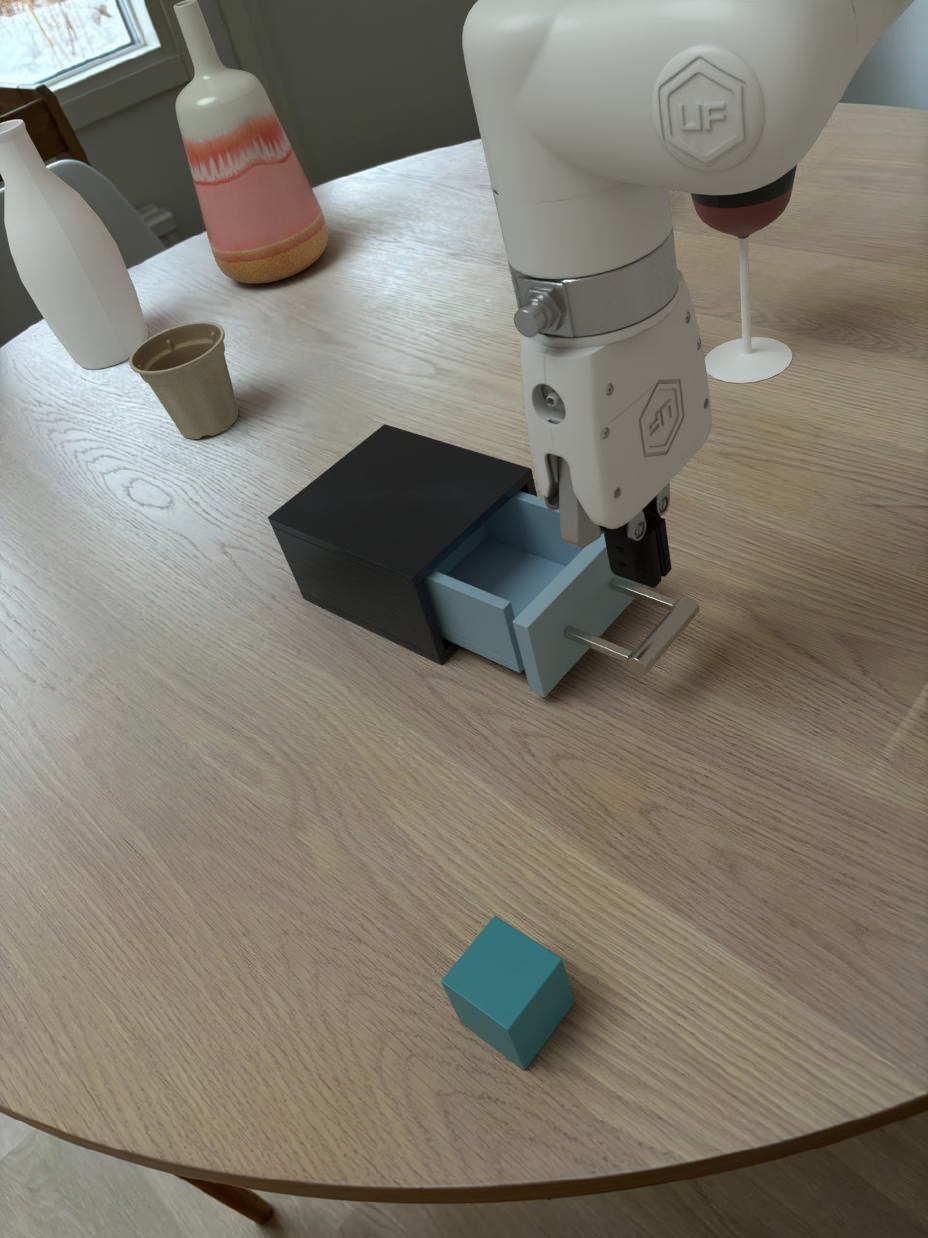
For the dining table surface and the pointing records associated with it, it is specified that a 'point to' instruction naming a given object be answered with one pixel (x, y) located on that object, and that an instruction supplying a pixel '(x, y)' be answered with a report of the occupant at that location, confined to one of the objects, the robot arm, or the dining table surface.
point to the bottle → (67, 258)
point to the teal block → (509, 991)
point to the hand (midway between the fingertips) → (641, 572)
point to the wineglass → (746, 278)
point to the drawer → (541, 597)
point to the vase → (244, 168)
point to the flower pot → (189, 377)
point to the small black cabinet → (391, 530)
